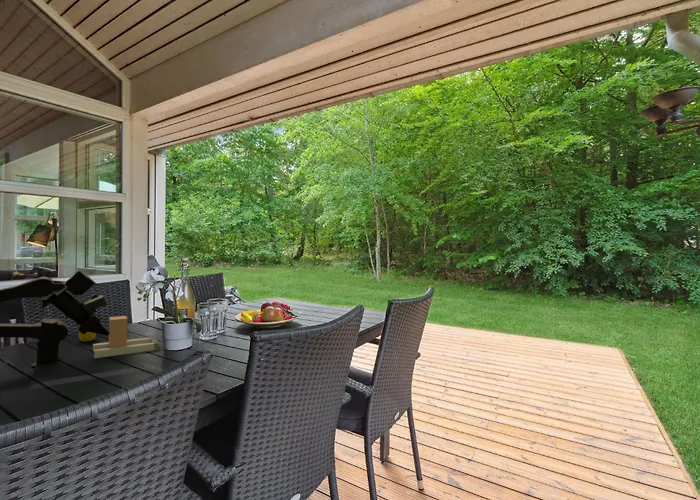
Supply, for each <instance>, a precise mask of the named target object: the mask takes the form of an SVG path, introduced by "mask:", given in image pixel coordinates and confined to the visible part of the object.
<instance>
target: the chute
mask: <svg viewBox="0 0 700 500" xmlns="http://www.w3.org/2000/svg"><path fill="white" fill-rule="evenodd" d="M159 346H160V345H159V342H158V340H157V339H156V337H154V336H153V337H152V336H150V337H141V338H135V339H127V346H121V347H113V348H109V341H108V342H99V343H93V344H92V352H93V353H94V354H93V358H94V359H100V358H107V357H114V356H120V355H127V354H128V355H129V354H136V353H144V352H150V351H158V350H159Z"/></svg>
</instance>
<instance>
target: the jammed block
mask: <svg viewBox="0 0 700 500" xmlns="http://www.w3.org/2000/svg"><path fill="white" fill-rule="evenodd" d="M108 320H109V321H108V323H109V324H108V332H109V333H110V334H109V335H108V342H109V348H113V347H121V346H127V340H128V317H127V316H126V315H122V316H121V315H119V316H109V318H108Z"/></svg>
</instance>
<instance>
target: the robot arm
mask: <svg viewBox="0 0 700 500" xmlns="http://www.w3.org/2000/svg"><path fill="white" fill-rule="evenodd" d="M96 285H97V283H96V282H95V281H94V280H93V279H92V278H91V277H90V276H89V275H86V274H84V273H83V272H82V271H81V270H77V271H76V272H75V273H74V274H73V275H72V276H71V277H69V278H68V279H67V280H66V281H63V280H53V279H52V278H50V276H49V277H48V276H40V277H37V278H34V279H31V280H28V281H26V282H23V283H21V284H17V285H14V286H9V287H5V288H0V303H2V302H7V301H12V300H16V299H32V298H42V297H47V296H48V297H47V298H42V299H41V303H42V305H41V306H42V307H41V308H43V309H45V308H46V307H48V305H51V307H54V308H55V309H56V310H58V311H59V312H60V313H62V314H63V315H64V317H65V318H69V319H70V320H71V321H73V322H74V323H75V325H77V326H78V333H79V332H81V333H82V334H83V335H84V334H85V333H86V332H92V333H96V335H97V334H98V335H101V336H105V337H109V334H110V333H109V329H107V328H106V327H105V325H104V324H103V323H102V322H101V315H100V314H99V313H98V311H99V310H98V309H99V308H102V307H105V306H107V305H108V304H109V303H108V301H107V300H106V298H105V295H103V294H100V295H98V294H97V293H95V294H92V295H91V297H90V298H91V299H89V300H88V301H85V302H84V301H83V299H82V300H79V299H77V298H76V297H78V296H83V295H85V294H86V293H87V292H88V291H89V290H91V289H92V288H93V287H94V286H96ZM49 295H50V296H49ZM95 313H98V314H95ZM68 334H69V325H68V323H66V322H65V320H59V318H57V317H56V318H53V319H51V318H44V317H43V318H42V319H41V322H38V323H37V322H36V323H0V338H3V339H5V338H7V339H9V338H10V339H13V338H15V339H17V338H19V339H20V338H23V339H24V338H25V339H26V338H27V339H29V338H30V339H35V340H36V343H35V344H36V362H35V363H33V364H31V365H30V367H32V368H35V367H36V365H38V364H41V365H42V364H43V365H44V364H50V363H53V362H57V361H60V360H61V341H63V340H64V339H66V338H67V336H68Z"/></svg>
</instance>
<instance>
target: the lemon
mask: <svg viewBox="0 0 700 500" xmlns="http://www.w3.org/2000/svg"><path fill="white" fill-rule="evenodd" d="M95 337H97V334H96V333H92V332H86V333H85V334H84V335H83V334H82V333H81V332H79V331H78V338H79V340H80V341H81V342H84V343H85V342H91V341H93V340H94V339H95Z"/></svg>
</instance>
